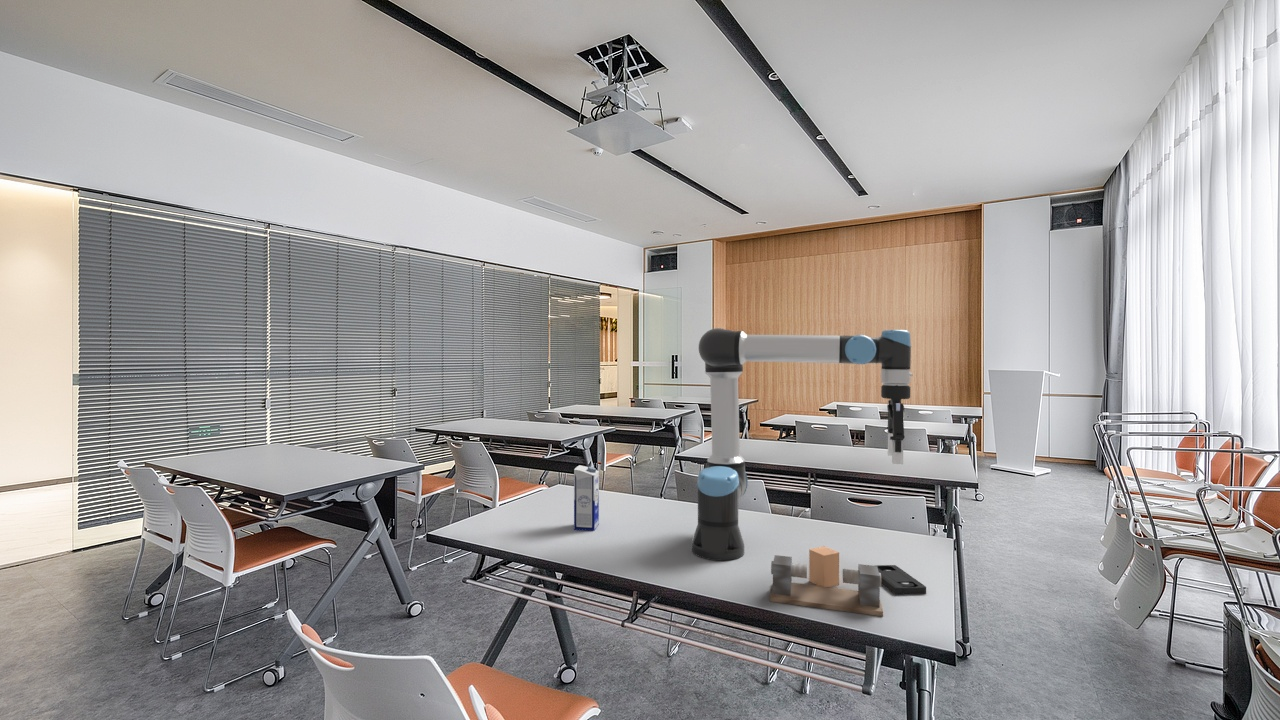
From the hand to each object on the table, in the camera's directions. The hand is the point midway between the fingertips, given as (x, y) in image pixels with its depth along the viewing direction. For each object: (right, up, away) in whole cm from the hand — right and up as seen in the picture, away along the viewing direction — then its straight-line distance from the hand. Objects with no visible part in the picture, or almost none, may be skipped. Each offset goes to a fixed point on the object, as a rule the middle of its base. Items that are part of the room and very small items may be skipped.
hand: (895, 459), depth 157 cm
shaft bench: (-29, -27, -28) cm, 49 cm away
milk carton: (-90, -27, +26) cm, 97 cm away
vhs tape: (-8, -28, -18) cm, 35 cm away
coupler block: (-26, -27, -19) cm, 42 cm away
